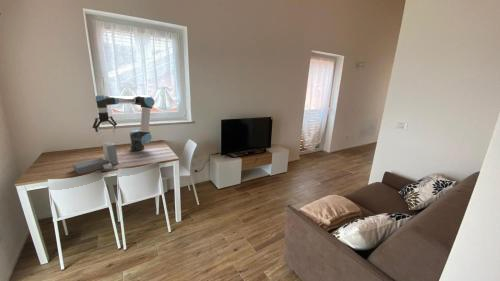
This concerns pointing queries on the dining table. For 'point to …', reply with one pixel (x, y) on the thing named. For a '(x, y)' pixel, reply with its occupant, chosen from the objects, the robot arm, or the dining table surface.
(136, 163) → the dining table surface
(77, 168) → the stand
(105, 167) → the metal tin
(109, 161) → the hard drive box
